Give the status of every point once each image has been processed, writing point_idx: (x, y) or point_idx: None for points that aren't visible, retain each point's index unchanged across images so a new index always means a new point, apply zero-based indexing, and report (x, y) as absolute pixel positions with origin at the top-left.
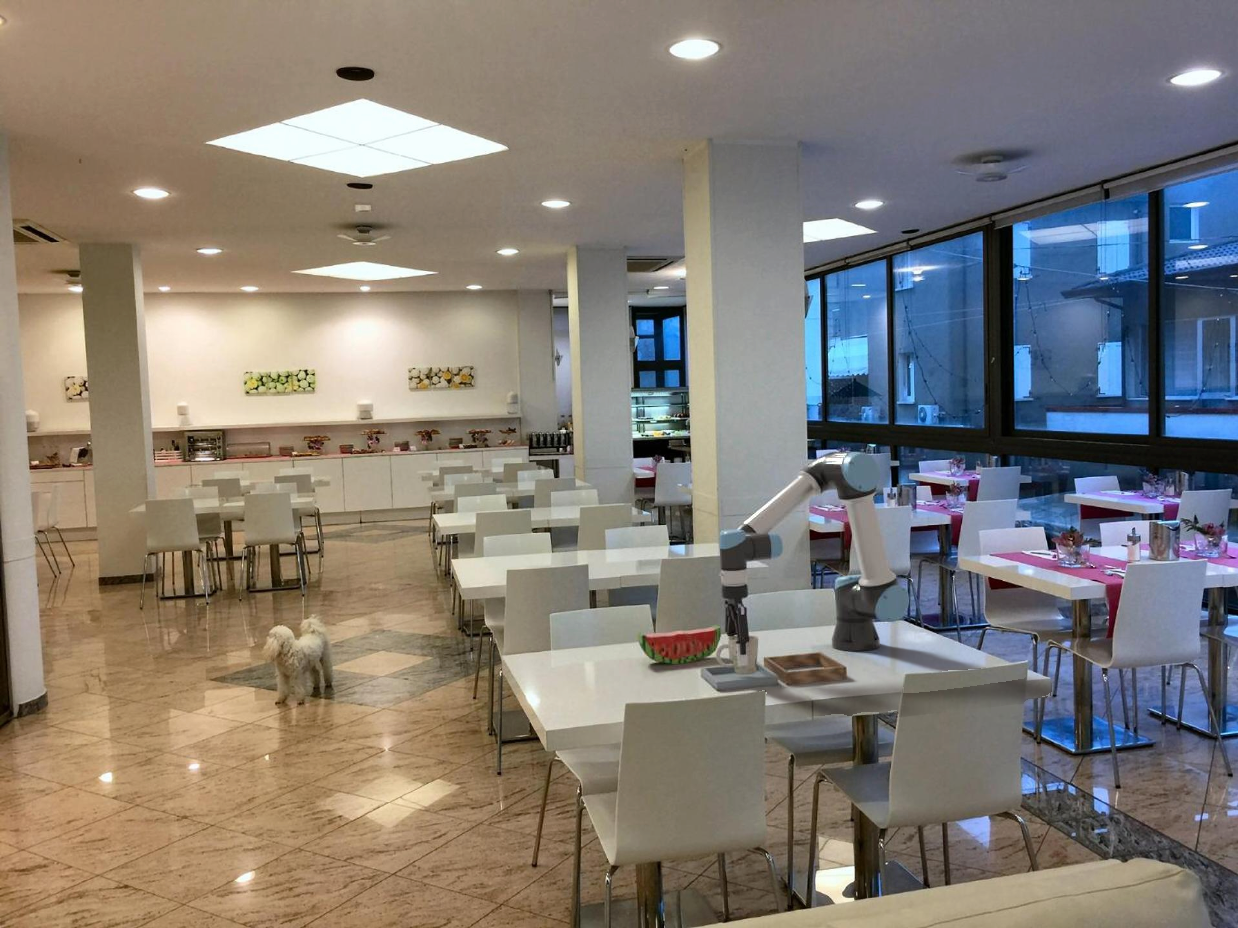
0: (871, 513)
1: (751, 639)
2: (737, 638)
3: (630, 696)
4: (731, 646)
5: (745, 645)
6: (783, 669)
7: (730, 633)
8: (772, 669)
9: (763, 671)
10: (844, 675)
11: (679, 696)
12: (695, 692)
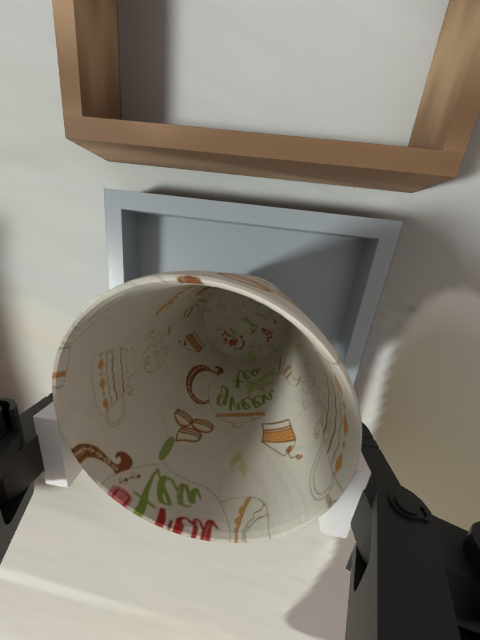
0: None
1: (359, 429)
2: (350, 594)
3: (249, 594)
4: (220, 477)
5: (395, 482)
6: (378, 155)
7: (16, 489)
8: (219, 165)
9: (226, 222)
10: None
11: (312, 530)
12: None
